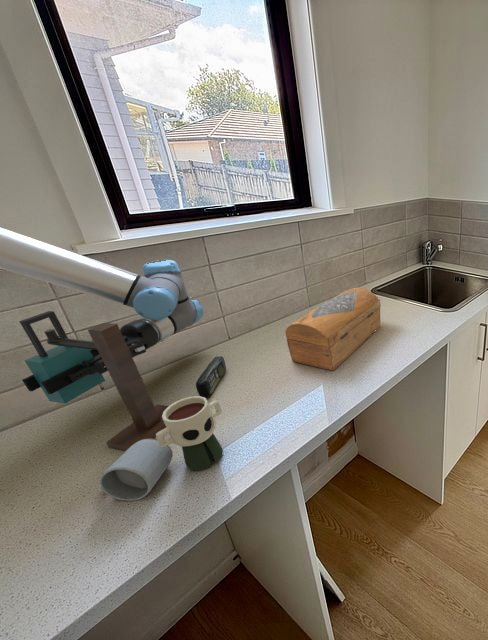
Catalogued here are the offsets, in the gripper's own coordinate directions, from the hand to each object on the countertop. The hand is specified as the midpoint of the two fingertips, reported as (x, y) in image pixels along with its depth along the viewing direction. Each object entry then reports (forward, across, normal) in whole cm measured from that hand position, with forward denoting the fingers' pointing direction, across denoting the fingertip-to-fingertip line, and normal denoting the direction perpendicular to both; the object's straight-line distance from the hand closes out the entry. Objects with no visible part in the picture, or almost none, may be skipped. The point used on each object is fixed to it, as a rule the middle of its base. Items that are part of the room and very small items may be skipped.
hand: (36, 386), depth 65 cm
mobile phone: (-23, -16, -14) cm, 31 cm away
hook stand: (-5, -9, -14) cm, 17 cm away
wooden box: (-50, -40, -14) cm, 65 cm away
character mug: (0, -33, -14) cm, 36 cm away
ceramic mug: (+7, -25, -14) cm, 29 cm away
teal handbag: (-5, 0, -5) cm, 7 cm away
